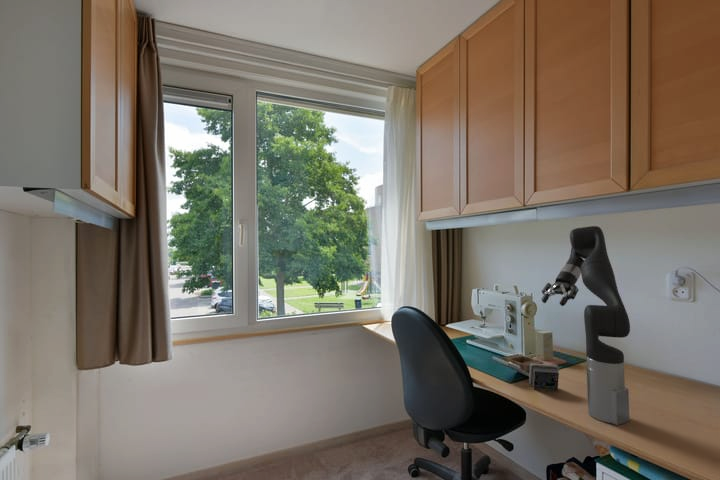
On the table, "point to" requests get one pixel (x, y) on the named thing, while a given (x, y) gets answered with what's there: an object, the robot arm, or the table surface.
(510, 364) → the light switch
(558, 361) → the terracotta mat
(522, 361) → the frame
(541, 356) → the skincare box
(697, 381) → the table surface
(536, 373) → the electrical switch
